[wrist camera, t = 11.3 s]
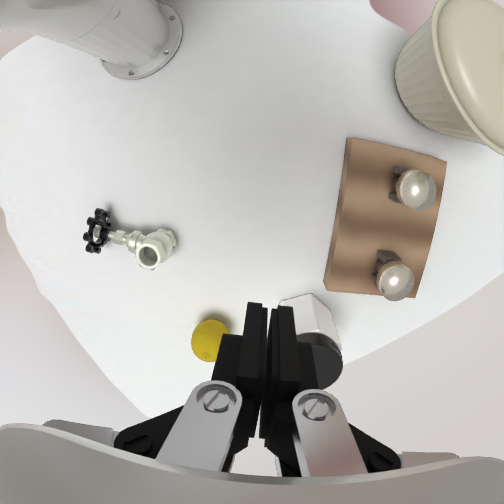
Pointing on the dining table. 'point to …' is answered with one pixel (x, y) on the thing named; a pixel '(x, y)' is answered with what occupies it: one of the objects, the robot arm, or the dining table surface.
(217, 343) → the lemon
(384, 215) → the mount board
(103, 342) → the dining table surface
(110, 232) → the valve
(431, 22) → the canister
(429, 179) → the knob
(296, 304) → the jar
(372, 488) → the robot arm
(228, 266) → the dining table surface
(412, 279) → the knob
